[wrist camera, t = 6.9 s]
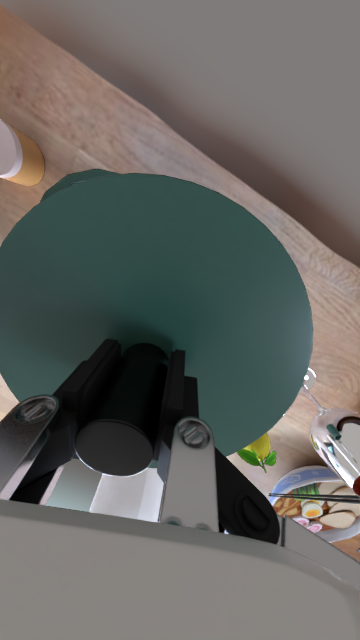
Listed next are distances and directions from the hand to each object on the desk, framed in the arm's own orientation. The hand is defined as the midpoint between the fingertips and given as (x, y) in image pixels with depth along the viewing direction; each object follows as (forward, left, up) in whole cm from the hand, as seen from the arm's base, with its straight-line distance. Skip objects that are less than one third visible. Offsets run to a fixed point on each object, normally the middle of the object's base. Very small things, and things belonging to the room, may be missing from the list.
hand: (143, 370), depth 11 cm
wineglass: (+27, -15, -25) cm, 39 cm away
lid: (0, 0, -1) cm, 1 cm away
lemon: (+21, -28, -25) cm, 42 cm away
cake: (-23, +13, -24) cm, 36 cm away
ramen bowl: (+39, -42, -25) cm, 62 cm away
